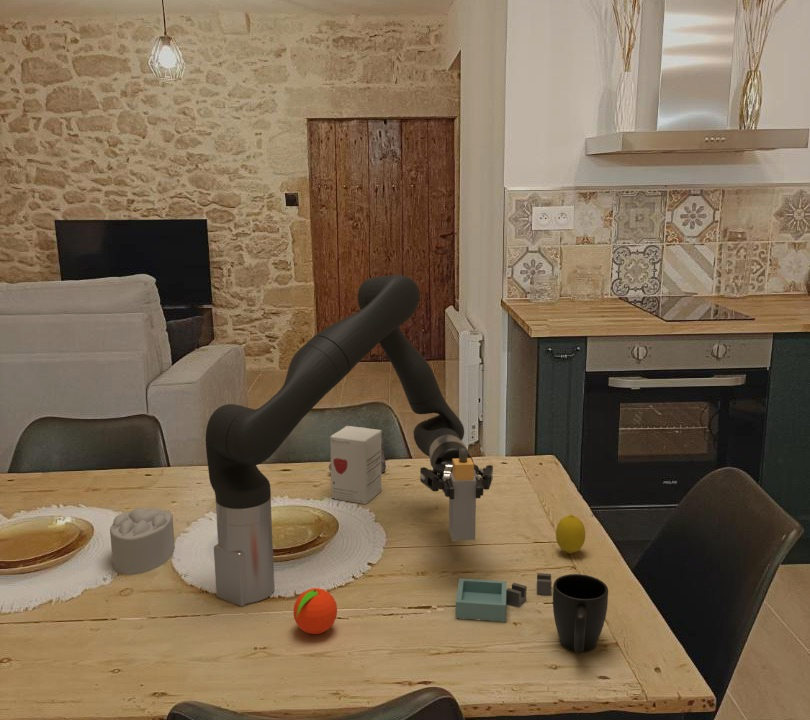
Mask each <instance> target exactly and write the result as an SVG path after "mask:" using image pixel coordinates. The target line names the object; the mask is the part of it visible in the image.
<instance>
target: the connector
mask: <svg viewBox="0 0 810 720" xmlns="http://www.w3.org/2000/svg"><path fill="white" fill-rule="evenodd" d="M466 448H467V447H466ZM466 448H460V449H459V458H455V459H452V473H450V480H451V482H452V485H453V486H454V499H448V504H449V506H448V532H449V535H450V538H451V540H452V542H453V541H454V542H456V541H459V542H460V541H476V516H477V515H476V513H477V512H476V510H477V508H476V507H477V505H476V504H477V498H476V479H475V477H474V464H475V463H474V464H473V462H474V461H473V462H472V460H473V459H472V460H471V458H467V450H468V448H467V449H466Z"/></svg>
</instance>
